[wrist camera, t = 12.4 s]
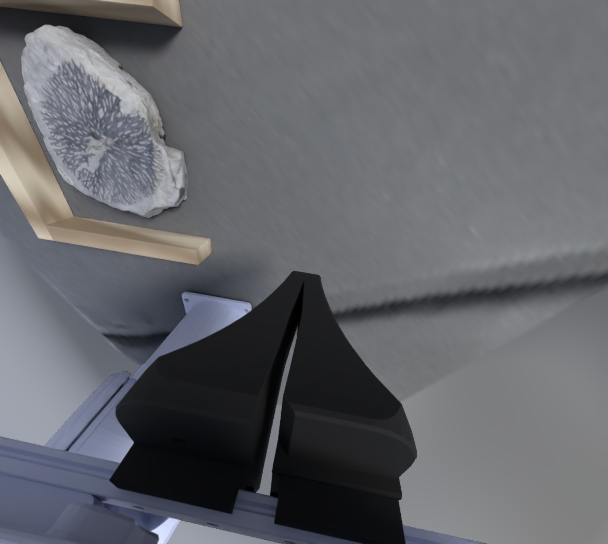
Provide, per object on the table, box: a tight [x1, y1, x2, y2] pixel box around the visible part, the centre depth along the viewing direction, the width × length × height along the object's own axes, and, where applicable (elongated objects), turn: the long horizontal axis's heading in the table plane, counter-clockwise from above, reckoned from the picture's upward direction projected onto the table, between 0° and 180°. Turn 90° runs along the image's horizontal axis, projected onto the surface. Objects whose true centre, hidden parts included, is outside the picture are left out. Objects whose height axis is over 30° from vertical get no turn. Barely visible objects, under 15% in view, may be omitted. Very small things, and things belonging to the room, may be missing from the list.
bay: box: [0, 0, 212, 265], centre depth 16 cm, size 17×16×2 cm
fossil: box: [21, 25, 187, 218], centre depth 16 cm, size 11×4×10 cm
